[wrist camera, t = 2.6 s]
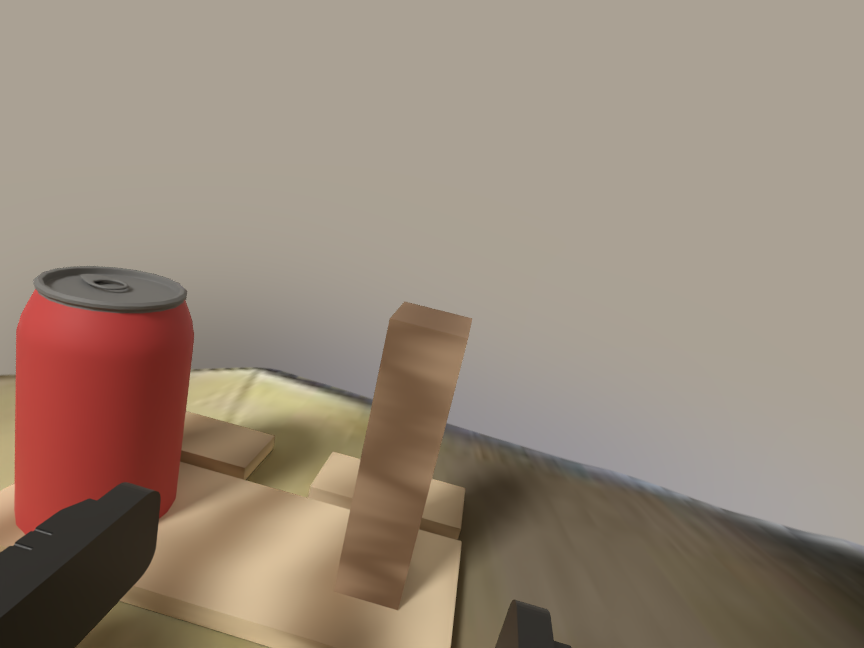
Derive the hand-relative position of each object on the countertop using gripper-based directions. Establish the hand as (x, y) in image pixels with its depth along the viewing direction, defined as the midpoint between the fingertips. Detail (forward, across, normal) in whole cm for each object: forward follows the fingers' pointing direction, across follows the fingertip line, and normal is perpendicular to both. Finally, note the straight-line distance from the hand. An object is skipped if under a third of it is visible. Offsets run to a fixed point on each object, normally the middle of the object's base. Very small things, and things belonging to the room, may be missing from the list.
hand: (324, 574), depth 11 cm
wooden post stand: (+10, +6, +11) cm, 16 cm away
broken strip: (+17, +7, +10) cm, 21 cm away
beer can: (+10, +14, +11) cm, 20 cm away
